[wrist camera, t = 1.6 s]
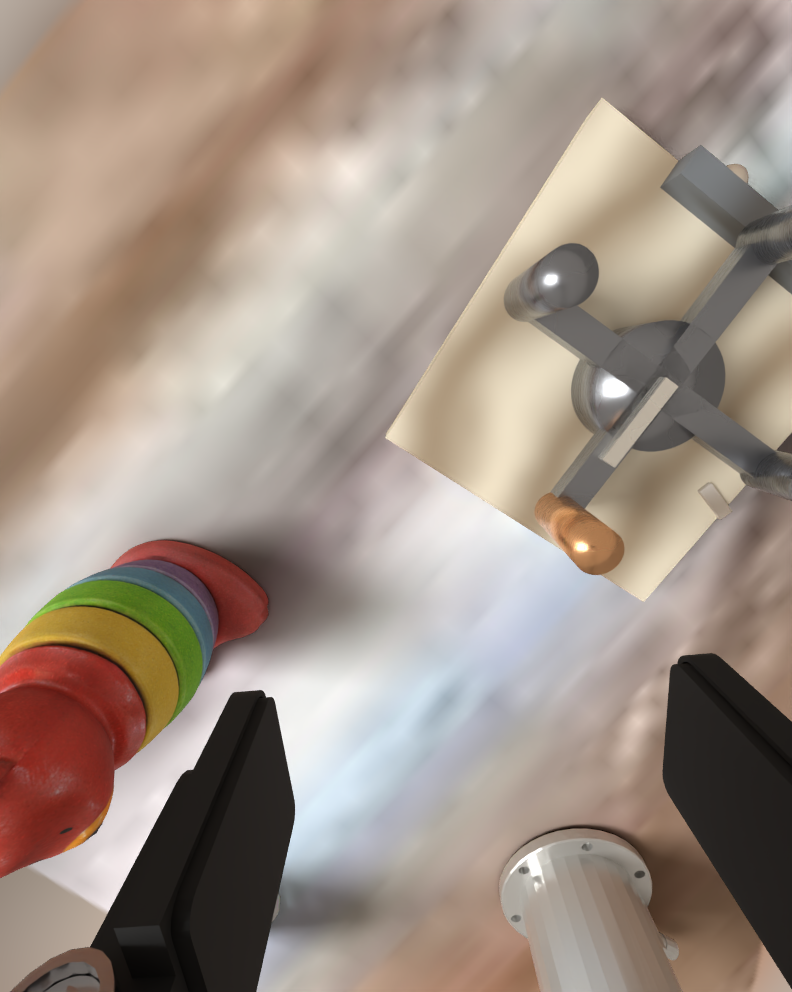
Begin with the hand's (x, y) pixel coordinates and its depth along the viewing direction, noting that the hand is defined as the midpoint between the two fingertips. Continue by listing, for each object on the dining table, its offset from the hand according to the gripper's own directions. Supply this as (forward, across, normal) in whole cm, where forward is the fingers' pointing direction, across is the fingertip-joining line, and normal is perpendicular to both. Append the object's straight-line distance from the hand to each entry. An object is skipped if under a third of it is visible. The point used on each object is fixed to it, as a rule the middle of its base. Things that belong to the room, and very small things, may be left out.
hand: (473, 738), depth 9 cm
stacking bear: (+22, +18, +7) cm, 29 cm away
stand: (+22, -12, -5) cm, 26 cm away
